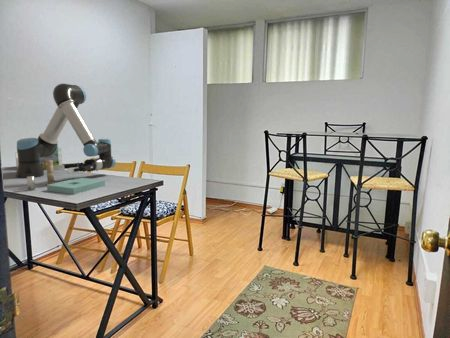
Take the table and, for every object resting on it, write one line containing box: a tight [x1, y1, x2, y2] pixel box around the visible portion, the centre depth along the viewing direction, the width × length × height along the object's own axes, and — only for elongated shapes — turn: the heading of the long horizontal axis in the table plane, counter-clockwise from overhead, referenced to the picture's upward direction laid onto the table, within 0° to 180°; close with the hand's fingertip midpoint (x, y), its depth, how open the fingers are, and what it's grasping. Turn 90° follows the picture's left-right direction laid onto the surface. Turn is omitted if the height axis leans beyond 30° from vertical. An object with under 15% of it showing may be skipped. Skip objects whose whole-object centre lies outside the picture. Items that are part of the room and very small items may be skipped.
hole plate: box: [46, 177, 106, 195], centre depth 171 cm, size 18×22×3 cm
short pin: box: [26, 176, 36, 191], centre depth 165 cm, size 3×3×7 cm
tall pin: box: [46, 160, 55, 185], centre depth 176 cm, size 3×3×14 cm
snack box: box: [40, 147, 63, 170], centre depth 227 cm, size 21×6×15 cm, turn 90°
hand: (60, 169), depth 180 cm, fingers open, 13 cm apart
